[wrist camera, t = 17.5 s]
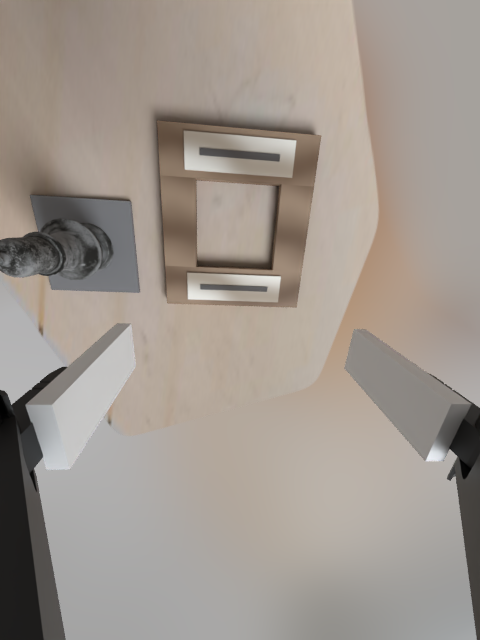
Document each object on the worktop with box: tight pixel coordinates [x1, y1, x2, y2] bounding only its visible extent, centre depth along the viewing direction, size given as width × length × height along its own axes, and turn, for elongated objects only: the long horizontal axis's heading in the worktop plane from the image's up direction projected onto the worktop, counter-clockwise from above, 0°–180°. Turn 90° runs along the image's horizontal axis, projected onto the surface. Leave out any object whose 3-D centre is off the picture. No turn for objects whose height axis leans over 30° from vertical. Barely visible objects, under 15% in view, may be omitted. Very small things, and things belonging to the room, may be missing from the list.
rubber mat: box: [30, 195, 140, 293], centre depth 27 cm, size 10×10×1 cm
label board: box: [157, 121, 321, 307], centre depth 27 cm, size 18×16×2 cm
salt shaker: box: [0, 218, 114, 280], centre depth 21 cm, size 6×6×12 cm
